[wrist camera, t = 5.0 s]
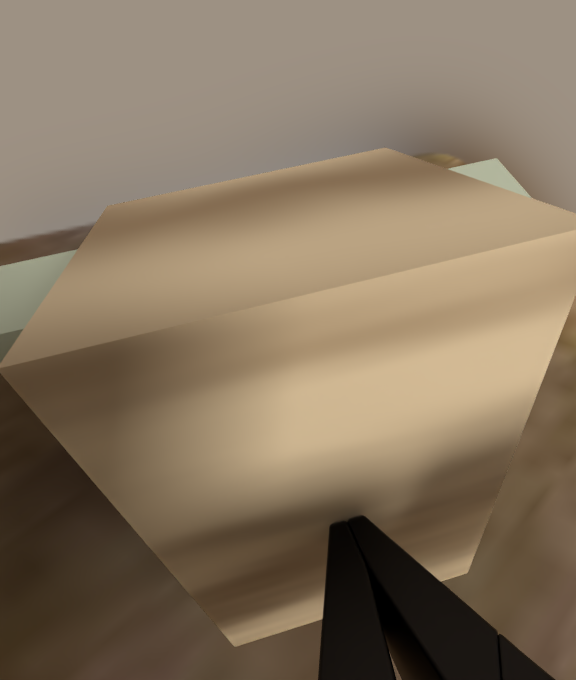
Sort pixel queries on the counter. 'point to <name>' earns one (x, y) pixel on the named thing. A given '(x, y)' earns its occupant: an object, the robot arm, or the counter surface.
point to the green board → (41, 273)
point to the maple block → (301, 368)
